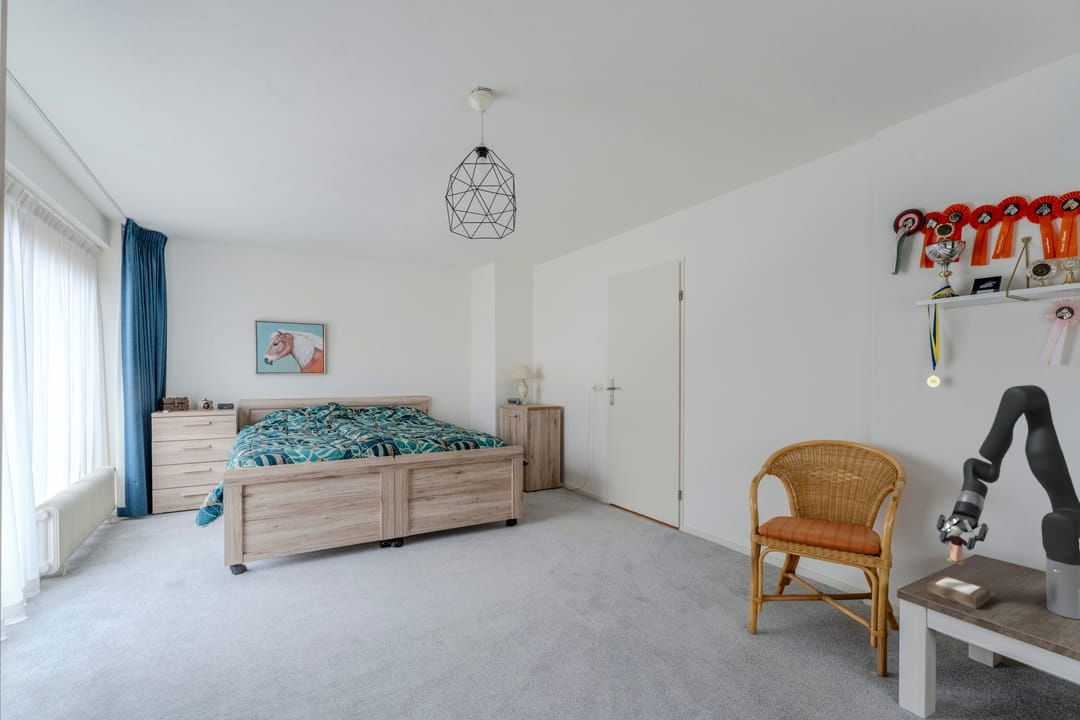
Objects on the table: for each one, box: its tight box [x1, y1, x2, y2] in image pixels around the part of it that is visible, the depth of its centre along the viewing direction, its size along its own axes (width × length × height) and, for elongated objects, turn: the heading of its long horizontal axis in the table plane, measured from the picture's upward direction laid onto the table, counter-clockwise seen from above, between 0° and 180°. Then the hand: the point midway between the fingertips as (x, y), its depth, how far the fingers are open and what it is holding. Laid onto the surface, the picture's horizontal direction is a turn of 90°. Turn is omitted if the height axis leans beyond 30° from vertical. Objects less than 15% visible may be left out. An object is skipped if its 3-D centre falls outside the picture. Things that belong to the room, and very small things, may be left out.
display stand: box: [926, 575, 991, 610], centre depth 182 cm, size 14×12×4 cm
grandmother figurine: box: [945, 526, 969, 565], centre depth 182 cm, size 8×4×13 cm, turn 35°
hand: (955, 545), depth 181 cm, fingers closed on grandmother figurine, 7 cm apart
